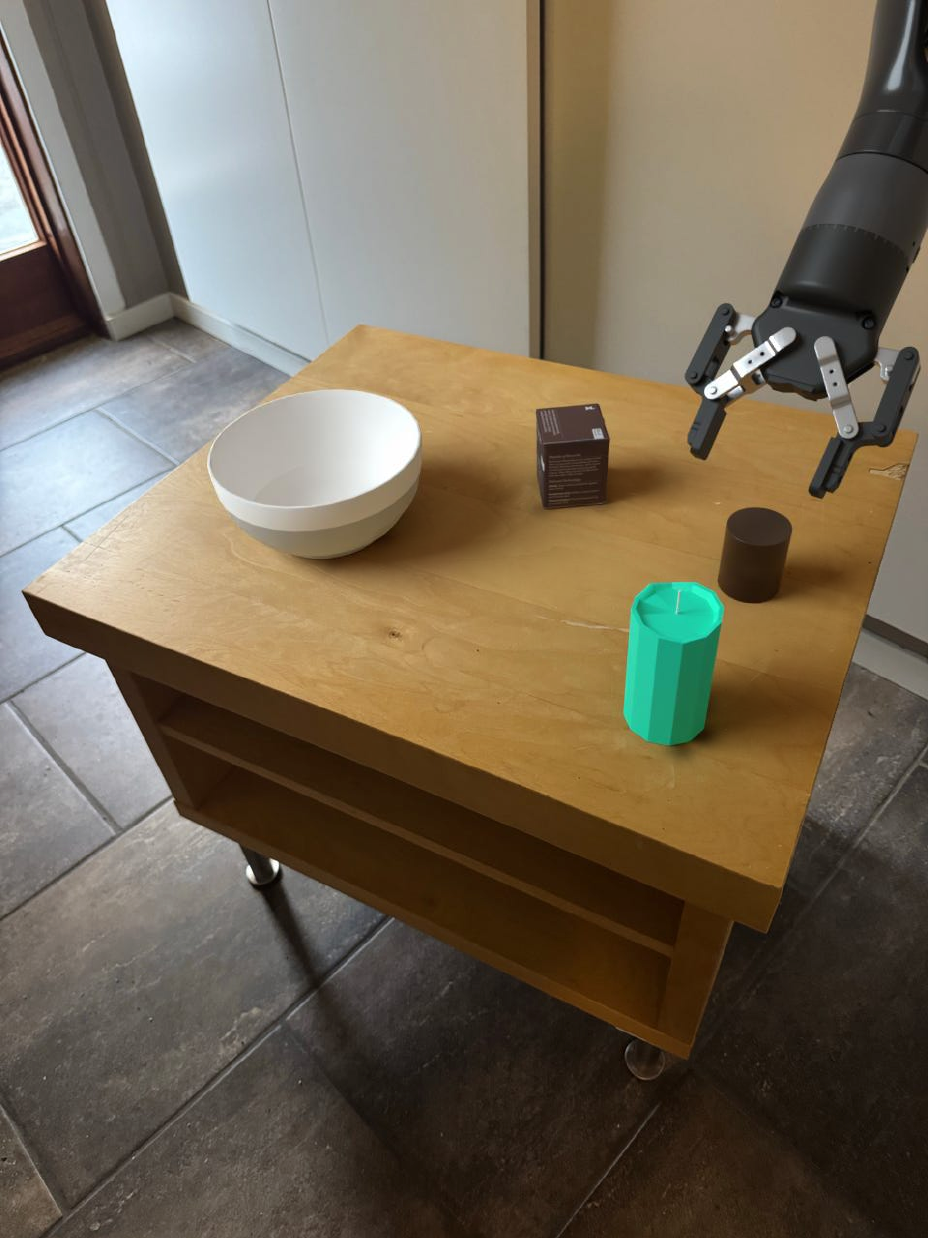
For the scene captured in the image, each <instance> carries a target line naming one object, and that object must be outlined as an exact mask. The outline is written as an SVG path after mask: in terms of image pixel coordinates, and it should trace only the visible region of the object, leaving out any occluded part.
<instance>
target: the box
mask: <svg viewBox="0 0 928 1238" xmlns="http://www.w3.org/2000/svg"><path fill="white" fill-rule="evenodd" d="M535 416H536V417H535V426H536V427H535V428H536V429H535V431H536V433H535V434H536V477H537V482H538V483H537V484H538V489H539V494H540V498H541V502H542V507H543V508H544V509H546V510H549V509H550V510H551V509H560V508H568V507H577V506H578V507H579V506H591V505H603V504H606V503H607V496H608V495H607V493H608V491H607V490H608V477H609V475H608V474H609V459H610V442H611V438H610V435H609V431H608V429H607V425H606V420H605V417H604V416H603V412H602V408H601V405H600V404H599V403H586V404H578V405H577V404H576V405H567V406H556V407H555V406H554V407H542V408H536V409H535Z"/></svg>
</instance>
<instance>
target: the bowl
mask: <svg viewBox="0 0 928 1238" xmlns="http://www.w3.org/2000/svg"><path fill="white" fill-rule="evenodd" d="M421 430H422V429H421V426H420V423H419V422H418V421H417V419H416V418H415V416H414V415H413V413H412V412H411V411H410V410H409V409H407V408H406V407H405V406H404V405H403V404H401V403H399V402H397V401H395V400H393V399H391V398H389V397H386V396H383V395H380V394H378V393H374V392H368V391H362V390H357V389H356V390H355V389H340V388H339V389H338V388H337V389H335V388H334V389H317V390H312V391H304V392H298V393H295V394H291V395H285V396H281V397H279V398H275V399H273V400H271V401H268V402H265V403H262V404H260V405H258V406H256V407H254V408H252V409H249V410H248V411H245V412H244V413H243V414H241V415H240V416H239V417H237V418H235V419H233V420H232V421H231V422H230V423H228V424H227V426H226V427H224V428H223V429H222V430H221V431H220V432H219V434H218V435H217V436H216V438H215V439H214V441H212V444H211V447H210V449H209V451H208V453H207V462H206V463H207V464H206V468H207V472H208V475H209V479H210V480H211V483H212V485H213V488H214V490H215V492H216V496H217V498H218V500H219V502H220V503H221V504H222V505H223V507H224V509H225V510H226V511H227V513H228V515H229V516H230V518H231V519H232V520H233V522H234V523H235V524H236V526H237V527H238V528H239V529H240V530H242V531H243V532H244V533H245V534H247V535H248V536H249V537H251V538H253V539H254V540H255V541H258V542H259V543H261V544H262V545H264V546H266V547H268V548H270V549H272V550H274V551H276V552H280V553H283V554H287V555H292V556H297V557H301V558H304V559H310V560H311V559H312V560H330V559H337V558H342V557H345V556H349V555H352V554H354V553H356V552H359V551H361V550H363V549H365V548H367V547H368V546H370V545H371V544H373V543H374V542H375V541H376V540H377V539H379V538H381V537H382V536H384V535H385V534H387V533H388V532H389V531H390V530H391V529H392V528H393V527H395V525H396V524H397V523H398V522H399V521H400V519H401V518H402V516H403V515H404V513H405V512H406V510H407V509H408V508H409V506H410V505H411V503H412V502H413V500H414V498H415V495H416V493H417V491H418V487H419V482H420V475H421V469H422V466H423V465H422V463H423V435H422V431H421Z"/></svg>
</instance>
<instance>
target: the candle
mask: <svg viewBox="0 0 928 1238" xmlns="http://www.w3.org/2000/svg"><path fill="white" fill-rule="evenodd" d="M724 612H725V605H724V604H723V603H722V601H721V600H720V598H719V596H718V594H717V593H716V591H714V590H712V589H710V588H709V587H706V585H705V586H704V585H703V584H701V583H699V582H697V581H671V582H669V581H668V582H666V581H665V582H650V583H648V584H647V586H645V587H644V588H643V589H641V591H640V592H638V594H637V595H636V596H634V599H633V602H632V605H631V608H630V617H629V618H630V619H629V634H628V644H627V645H628V646H627V647H628V648H627V658H626V660H627V661H626V674H625V684H624V685H625V687H624V688H625V689H624V699H623V700H624V701H623V713H622V714H623V717H624V719H625V720H626V723H627V725H628V727H629V730H630V731H632V732H633V733H635V734H636V735H637V736H639V737H640V738H642V739H643V740H645V741H646V742H648V743H653V744H659V745H664V746H669V747H670V746H676V745H679V744H683V743H688V742H692V740H693V739H695V738H696V737H697V736H698V735H699V734H700V733H702V731H703V730H705V725H706V719H707V713H708V708H709V702H710V697H711V689H712V685H713V676H714V673H715V665H716V659H717V654H718V648H719V641H720V636H721V630H722V625H723V619H724Z"/></svg>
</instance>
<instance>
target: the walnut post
mask: <svg viewBox="0 0 928 1238" xmlns="http://www.w3.org/2000/svg"><path fill="white" fill-rule="evenodd" d="M792 534H793V525H792V523H791V522H790V520H789V519H788V518H787V517H786V516H785V515H784V514H782V513H780V512H778V511H777V510H774V509H772V508H771V509H770V508H767V507H760V506H751V507H744V508H741V509H738V510H736V511H734V512H733V513H732V514H730V515H729V517H728V518H727V520H726V525H725V532H724V537H723V542H722V543H723V544H722V550H721V557H720V563H719V570H718V575H717V585H718V586H719V588H720V590H721V591H722V592H723V594H724V595H726V596H728V597H729V598H731V599H733V600H735V601H738V602H742V603H746V604H759V603H764V602H766V601H770V600H771V599H773V598H775V597H776V596H777V595H778V593H779V591H780V589H781V584H782V579H783V575H784V571H785V566H786V562H787V557H788V553H789V552H788V551H789V547H790V543H791V538H792Z"/></svg>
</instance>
